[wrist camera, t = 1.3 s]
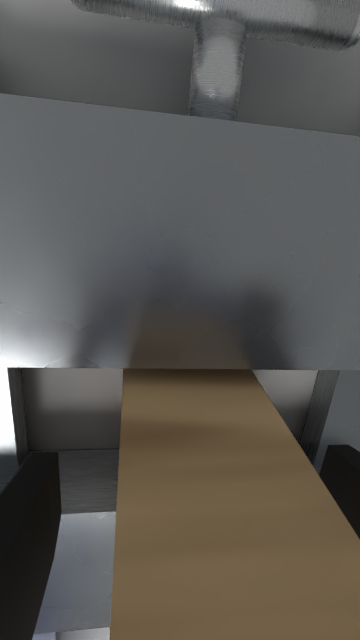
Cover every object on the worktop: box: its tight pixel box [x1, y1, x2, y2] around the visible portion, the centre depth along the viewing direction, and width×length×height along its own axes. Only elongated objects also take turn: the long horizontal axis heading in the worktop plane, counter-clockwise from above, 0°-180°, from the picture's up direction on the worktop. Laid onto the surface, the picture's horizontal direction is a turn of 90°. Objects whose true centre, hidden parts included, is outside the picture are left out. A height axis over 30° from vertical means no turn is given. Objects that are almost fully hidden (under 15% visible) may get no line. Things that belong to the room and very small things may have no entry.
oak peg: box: [110, 368, 360, 640], centre depth 9 cm, size 4×4×9 cm
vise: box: [0, 0, 360, 634], centre depth 11 cm, size 22×15×3 cm
